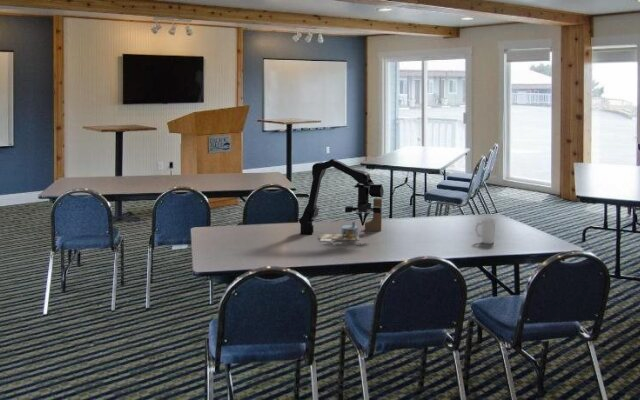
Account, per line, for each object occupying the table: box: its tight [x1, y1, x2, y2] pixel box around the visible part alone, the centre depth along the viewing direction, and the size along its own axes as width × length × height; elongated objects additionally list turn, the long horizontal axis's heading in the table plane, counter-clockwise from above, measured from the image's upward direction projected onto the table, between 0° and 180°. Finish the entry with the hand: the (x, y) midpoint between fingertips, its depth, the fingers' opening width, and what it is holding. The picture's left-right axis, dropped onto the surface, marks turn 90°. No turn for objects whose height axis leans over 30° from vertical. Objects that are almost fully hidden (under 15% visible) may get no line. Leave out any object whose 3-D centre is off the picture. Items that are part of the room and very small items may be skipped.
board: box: [318, 233, 360, 241], centre depth 385 cm, size 21×10×1 cm, turn 85°
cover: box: [341, 220, 359, 238], centre depth 384 cm, size 8×8×8 cm
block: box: [345, 230, 355, 238], centre depth 384 cm, size 4×4×5 cm
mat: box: [319, 238, 333, 243], centre depth 377 cm, size 6×5×1 cm
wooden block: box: [364, 197, 383, 232], centre depth 405 cm, size 9×4×18 cm, turn 82°
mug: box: [474, 218, 496, 245], centre depth 374 cm, size 10×7×12 cm, turn 86°
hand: (362, 225), depth 383 cm, fingers closed
